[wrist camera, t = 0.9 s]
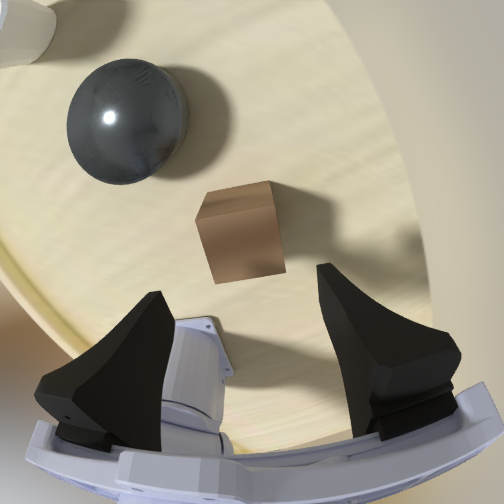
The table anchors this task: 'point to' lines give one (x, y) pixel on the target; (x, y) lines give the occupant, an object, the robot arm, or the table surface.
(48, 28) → the grey and white cylinder
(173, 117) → the tin
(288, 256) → the table surface
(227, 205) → the walnut block
